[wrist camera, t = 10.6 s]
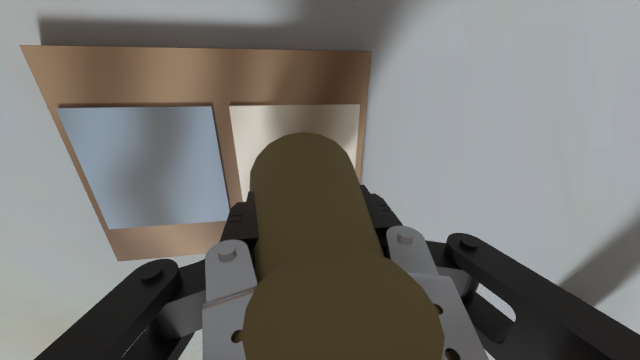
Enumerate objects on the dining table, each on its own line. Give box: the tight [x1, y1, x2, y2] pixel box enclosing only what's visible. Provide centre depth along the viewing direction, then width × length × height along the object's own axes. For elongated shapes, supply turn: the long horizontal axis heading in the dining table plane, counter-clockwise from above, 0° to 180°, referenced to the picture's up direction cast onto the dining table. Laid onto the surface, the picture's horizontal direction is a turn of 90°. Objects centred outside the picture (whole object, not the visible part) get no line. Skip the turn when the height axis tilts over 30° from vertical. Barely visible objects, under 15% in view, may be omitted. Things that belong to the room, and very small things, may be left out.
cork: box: [233, 132, 453, 360], centre depth 9 cm, size 6×6×11 cm
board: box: [20, 45, 371, 261], centre depth 17 cm, size 18×14×1 cm
